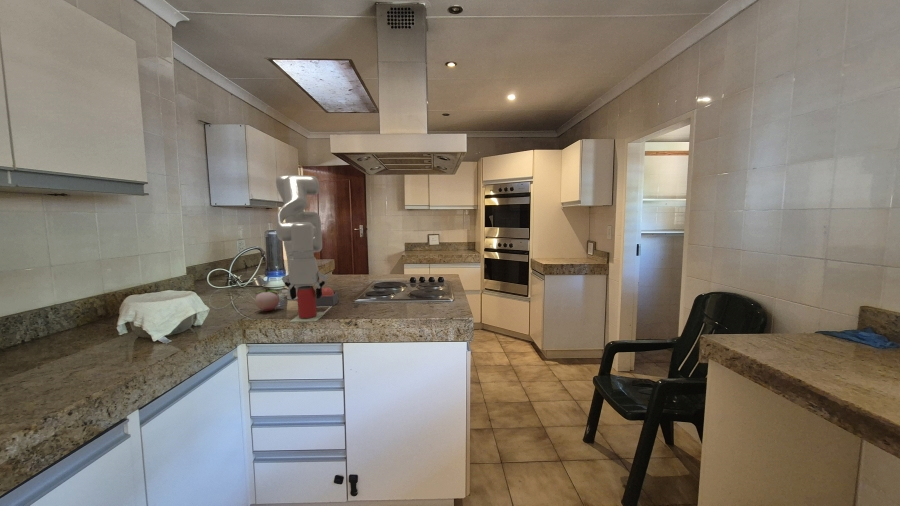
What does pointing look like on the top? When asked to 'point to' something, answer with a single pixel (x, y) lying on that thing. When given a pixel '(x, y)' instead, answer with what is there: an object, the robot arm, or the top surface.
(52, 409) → the top surface
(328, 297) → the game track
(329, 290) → the dome
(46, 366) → the top surface
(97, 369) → the top surface
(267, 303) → the decorative fruit
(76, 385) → the top surface
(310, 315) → the beer can
